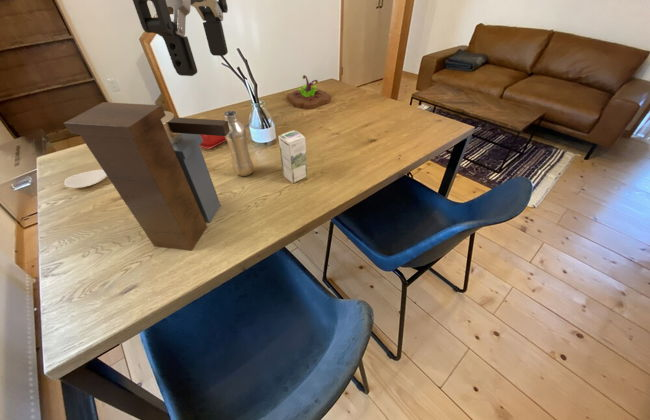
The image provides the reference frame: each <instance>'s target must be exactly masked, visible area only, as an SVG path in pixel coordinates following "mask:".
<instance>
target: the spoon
mask: <svg viewBox="0 0 650 420" xmlns="http://www.w3.org/2000/svg"><path fill="white" fill-rule="evenodd" d="M106 178H108V176H107V175H106V173H105V172H104V170H103V169H102V168H100V169H93V170H89V171H84V172H80V173H77V174H73V175H70V176H68V177H67V178H65V180H64V181H63V184H64V186H65V187H66V188H70V189H80V188H81V189H83V188H88V187H90V186H94V185H97V184H98V183H100V182H102V181H103V180H105V179H106Z"/></svg>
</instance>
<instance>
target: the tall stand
mask: <svg viewBox="0 0 650 420" xmlns="http://www.w3.org/2000/svg"><path fill="white" fill-rule="evenodd" d="M164 111H165V110H164V107H163V106H162V104H146V103H145V104H144V103H126V102H125V103H124V102H110V101H109V102H108V101H107V102H106V101H103V102H101V103H99V104H97V105H95V106H93V107H91V108H89V109H87V110H85V111H83V112H82V113H80V114H78V115H76V116H74V117H72V118H70V119H69V120H66V121H64V122H63V124H64V125H65V127H66V129H67V131H68V132H69V133H70V134H71V135H79V136H80V137H81V140H83V142H84V144H85V145H86V146H87V148H88V150H89V151H90V152H91V154H92V155H93V157H94V158H95V160H96V162H97V163H98V164H99V166H100V167H101V169H103V170H104V172H105V173H106V175H107V179H109V181H110V182H111V185H113V187H114V188H115V190H116V192H117V193H118V195H119V196H120V198H121V199H122V201H123V202H124V204H125V205H126V207H127V209H128V210H129V211H130V213H131V214H132V216H133V217H134V218H135V220H136V221H137V223H138V225H139V227H141V229H142V231H143V232H144V233H145V235H146V236H147V238H148V240H149V241H150V242H151V244H152V246H153V247H158V248H166V249H173V250H175V249H176V250H184V251H193V250H194V248H195V247H196V245H197V244H198V242H199V241H200V239H201V237H203V234H204V233H205V231H206V230H207V228H208V226H207V223H206V222H205V221H204V219H203V216H202V214H201V212H200V209H199V207H198V205H197V202H196V200H195V198H194V195H193V193H192V191H191V188H190V186H189V184H188V182H187V179H186V177H185V175H184V172H183V170H182V168H181V165H180V163H179V161H178V158H177V156H176V154H175V151H174V149H173V147H172V144H171V142H170V140H169V137H168V135H167V133H166V130H165V128H164V126H163V124H162V121H161V119H162V118H163V117H164V116H166V115H165V113H164Z"/></svg>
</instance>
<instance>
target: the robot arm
mask: <svg viewBox="0 0 650 420" xmlns="http://www.w3.org/2000/svg"><path fill="white" fill-rule="evenodd" d="M148 1H150V4H151V6H152V7H153V8H154V9H155V17H152V14H151V11H150V8H149V5H148ZM132 3H133V5H134V9H135V11H136V14H137V17H138V19H139V22H140V25H141V28H142V30H143V31H144V32H145V33H148V34H156V35H158V36H159V37H161V38H162V39H163V41H164V44H165V46H166V49H167V52H168V55H169V58H170V61H171V65H172V67H173V68H174V70H175V73H176V74H177V75H178V76H181V77H182V76H183V77H193V76H196V75H197V73H198V68H197V64H196V61H195V57H194V54H193V50H192V48H191V45H190V41H189V38H188V36H186V17H187V16H188V15H189V14H190V13H191V7H193V8H194V9H195V10H196V12H197V13H198V15H199V17H200V18H201V19H202V21H203V22H202V25H203V30H204V34H205V37H206V41H207V45H208V50H209V52H210V54H211V55H212V56H217V57H220V56H221V57H223V56H227V55H228V52H229V51H228V45H227V42H226V37H225V31H224V27H223V24H222V23H223V21H224V14H225V13H226V14H227V13H228V11H229V9H228V3H227V0H132ZM171 15H173V18H172V17H171ZM172 19H173V20H172Z"/></svg>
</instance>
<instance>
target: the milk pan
mask: <svg viewBox="0 0 650 420" xmlns="http://www.w3.org/2000/svg"><path fill="white" fill-rule="evenodd" d="M164 113H165V115H166V116H164V117H163V118H162V119H161V121H162V124H163V126H164V128H165V130H166V133H167V135H168V137H169V140H170V142H171V144H172V145H174V144H176V143H178V142H179V141H180V140H181V139H182V134H181V133H185V134H200V135H214V136H226V135H227V134H228V133H229V132H230V129H229V125H228V121H226V120H225V119H209V118H208V119H207V118H192V117H191V118H190V117H176V116H175V114H174V113H173V112H171V111H168V110H164Z"/></svg>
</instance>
